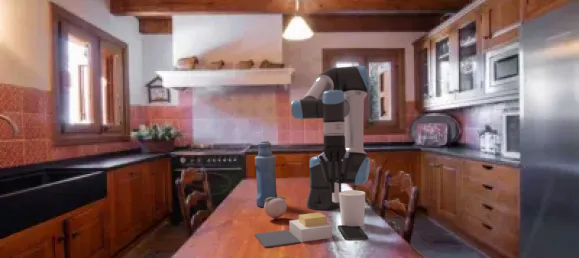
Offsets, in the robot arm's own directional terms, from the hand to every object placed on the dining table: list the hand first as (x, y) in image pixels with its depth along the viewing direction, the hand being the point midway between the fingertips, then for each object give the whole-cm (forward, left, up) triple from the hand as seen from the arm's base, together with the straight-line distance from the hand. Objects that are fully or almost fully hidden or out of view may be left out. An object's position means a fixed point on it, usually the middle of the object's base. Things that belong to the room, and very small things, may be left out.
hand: (335, 201), depth 135 cm
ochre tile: (+9, 0, -7) cm, 11 cm away
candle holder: (-9, -5, -11) cm, 15 cm away
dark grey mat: (+22, 0, -11) cm, 24 cm away
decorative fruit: (+15, -24, -11) cm, 30 cm away
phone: (-4, +4, -11) cm, 13 cm away
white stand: (+10, 0, -11) cm, 14 cm away
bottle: (+12, -50, -11) cm, 53 cm away
